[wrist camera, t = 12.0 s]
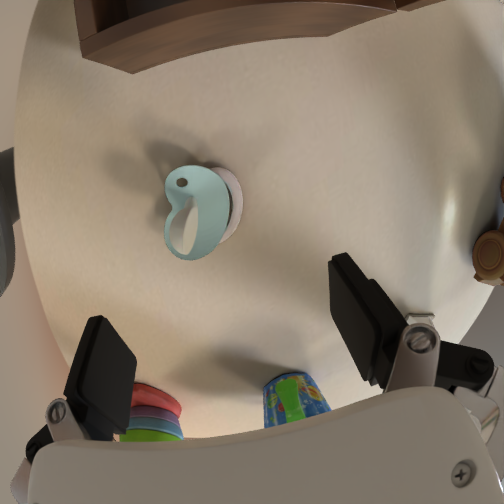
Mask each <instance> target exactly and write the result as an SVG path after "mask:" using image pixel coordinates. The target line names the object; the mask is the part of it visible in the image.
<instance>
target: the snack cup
mask: <svg viewBox="0 0 504 504" xmlns="http://www.w3.org/2000/svg"><path fill="white" fill-rule="evenodd" d="M263 405H264V428H269V427H273V426H278V425H282V424H286V423H290V422H294V421H298V420H301V419H305V418H308V417H312V416H315V415H319V414H322V413H325V412H329V411H332V410H331V408H330V407H329V405H328V403H327V402H326V400H325V398H324V396H323V395H322V394H321V391H320V390H319V388H318V386H317V385H316V383H315V382H314V380H313V379H312V378H311V377H310V376H309V375H308V374H307V373H304V374H299V373H293V374H284V375H282V376H280V377H279V378H276V379H274V380H273V381H271V382H270V383H269V384H268V385H267V386H265V387H264V393H263Z"/></svg>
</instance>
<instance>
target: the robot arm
mask: <svg viewBox="0 0 504 504" xmlns="http://www.w3.org/2000/svg"><path fill="white" fill-rule="evenodd" d="M328 271H329V290H330V311H331V315H332V318H333V320H334V322H335V324H336V326H337V328H338V330H339V332H340V334H341V336H342V338H343V340H344V342H345V344H346V346H347V348H348V350H349V352H350V354H351V356H352V358H353V360H354V362H355V364H356V366H357V368H358V370H359V372H360V374H361V377H362V379H363V380H364V381H367V380H368V381H369V383H370V385H371V386H373V385H376V384H379V386H380V388H381V389H384V390H383V393H382V394H380V395H376V396H373V397H371V398H368V399H365V400H362V401H359V402H355V403H353V404H350V405H347V406H344V407H341V408H338V409H335V410H332V411H329V412H325V413H322V414H319V415H315V416H312V417H308V418H305V419H301V420H298V421H294V422H290V423H286V424H282V425H278V426H273V427H269V428H264V429H259V430H254V431H249V432H244V433H238V434H232V435H225V436H218V437H210V438H202V439H192V440H180V441H162V442H116V440H115V439H114V437H113V433H115V434H119V435H126V428H128V427H129V420H130V411H131V402H132V394H133V386H134V379H135V372H136V366H137V360H136V357H135V355H134V354H133V353H132V351H131V350H130V349H129V348H128V346H127V345H126V344H125V342H124V341H123V340H122V339H121V337H120V336H119V335H118V333H117V332H116V330H115V329H114V328H113V326H112V325H111V324H110V322H109V321H108V319H107V318H104V317H103V316H102V315H98V316H94V317H90V318H89V319H88V321H87V324H86V326H85V329H84V332H83V334H82V337H81V340H80V342H79V345H78V348H77V351H76V354H75V357H74V360H73V363H72V366H71V369H70V373H69V376H68V379H67V383H66V386H65V390H64V393H63V394H64V395H65V396H66V397H67V399H66V400H64V399H62V398H58V399H55V400H54V401H52V402H51V403H50V405H49V406H48V408H47V411H46V422H47V424H46V425H45V426H44V427H43V428H42V429H41V430H40V431H39V432H38V433H37V434H35V435H34V436H33V437H32V438H31V439H30V440H29V442H28V443H27V446H26V457H27V459H26V458H24V460H23V461H22V463H21V465H20V466H19V468H18V470H17V472H16V474H15V476H14V478H13V480H12V482H11V492H12V494H13V496H14V498H15V499H16V501H17V502H18V503H19V504H504V493H503V490H502V487H501V481H502V479H503V477H504V367H502V366H499V367H498V368H497V367H496V366H494V362H493V360H492V358H491V356H490V355H489V354H488V353H487V352H485V351H483V350H481V349H476V348H472V347H467V346H463V345H458V344H454V343H450V342H446V341H441V340H440V336H439V334H438V332H437V331H436V329H435V328H433V327H432V326H430V325H428V324H425V323H414V324H411V325H409V324H408V323H407V321H406V320H405V319H404V317H403V316H402V314H401V313H400V312H399V310H398V309H397V308H396V306H395V305H394V304H393V302H392V301H391V300H390V298H389V297H388V296H387V294H386V293H385V292H384V291H383V289H382V288H381V287H380V285H379V284H378V283H377V282H376V281H375V280H374V279H369V280H368V279H367V277H366V276H365V275H364V273H363V272H362V271H361V270H360V268H359V267H358V266H357V264H356V263H355V262H354V261H353V259H352V258H351V257H350V256H349V254H348V253H346V252H345V253H341V254H338V255H334V256H332V260H331V261H328ZM464 407H465V408H467V409H468V410H470V411H471V412H470V414H472V415H473V416H475V417H476V418H477V419H478V420H479V421H480V424H481V432H480V433H479V431H478V429H477V427H476V425H475V423H474V422H473V420H472V419H471V417H470V415H469V414H468V412H467V411H466V409H465V408H464Z"/></svg>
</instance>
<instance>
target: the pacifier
mask: <svg viewBox="0 0 504 504" xmlns="http://www.w3.org/2000/svg"><path fill="white" fill-rule="evenodd" d="M179 178H185V179H186V180H187V181H188V184H187V185H186V186H184V187H181V186H178V185H177V183H176V181H177V179H179ZM225 184H226V185H227V186H228V188H229V189H230V192H231V197H232V209H231V214H230V217H229V219H228V216H229V195H228V191H227V188H226V185H225ZM165 193H166V197H167V199H168V201H169V202H170V204H171V205H172V211H171V213H170V214H169V216H168V218H167V220H166V223H165V227H164V238H165V241H166V245H167V246H168V248H169V250H170V251H171V252H172V253H173V254H174V255H175V256H176V257H178V258H180V259H183V260H196V259H199V258H202V257H204V256H205V255H207V254H209V253H210V252H212V251H213V250H214V248H215V247H216V246H217V245H218V244H220V243H222V242H224V241H226V240H227V239H228V238H229V237H230V236H231V235H232V234H233V232H234V231H235V230H236V228H237V226H238V224H239V221H240V219H241V214H242V210H243V196H242V190H241V187H240V184H239V182H238V180H237V179H236V177H235V176H234V175H233V174H232V173H231V172H230V171H228V170H227V169H224V168H220V167H216V168H210V169H208V168H206V167H203V166H199V165H184V166H180V167H178V168H176V169H174V170H173V171H172V172H171V173H170V174H169V176H168V177H167V179H166V181H165Z"/></svg>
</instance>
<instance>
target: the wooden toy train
mask: <svg viewBox="0 0 504 504" xmlns="http://www.w3.org/2000/svg"><path fill="white" fill-rule="evenodd" d="M501 197H502V201H503V203H504V177H503V179H502V183H501ZM472 259H473V266H474V268H475V271H476V273H475V275H474V278H475V279H476V280H477V281H478V282H482V283H485V284H488V285H492V286H495V285H498V284H500V285H502V286H504V218H503V220H502V222H501V225H500V227H499V229H498V231H496V230H490V231H487V232H485V233H484V234H482V235H481V236H480V237H479V238H478V240H477V241H476V243H475V245H474V248H473V254H472Z"/></svg>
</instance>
